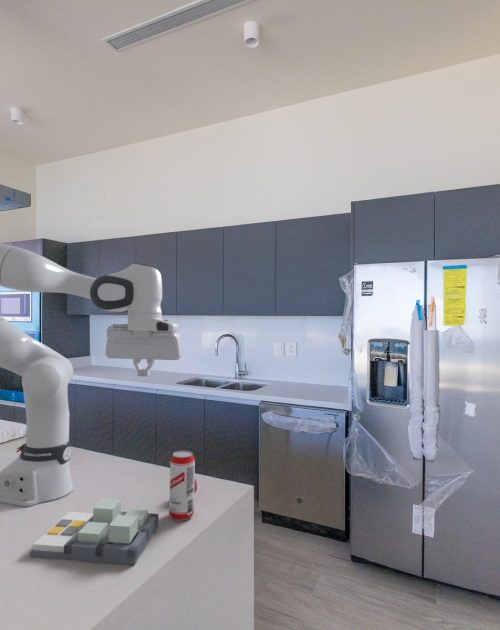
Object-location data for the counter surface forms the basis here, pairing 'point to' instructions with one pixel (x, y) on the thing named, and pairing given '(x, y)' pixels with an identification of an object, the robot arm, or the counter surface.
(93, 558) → the board
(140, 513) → the button
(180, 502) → the beer can
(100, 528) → the button
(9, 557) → the counter surface
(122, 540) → the button
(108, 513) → the button
